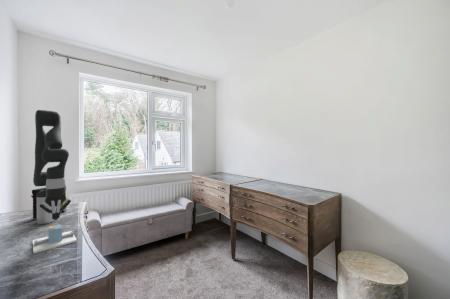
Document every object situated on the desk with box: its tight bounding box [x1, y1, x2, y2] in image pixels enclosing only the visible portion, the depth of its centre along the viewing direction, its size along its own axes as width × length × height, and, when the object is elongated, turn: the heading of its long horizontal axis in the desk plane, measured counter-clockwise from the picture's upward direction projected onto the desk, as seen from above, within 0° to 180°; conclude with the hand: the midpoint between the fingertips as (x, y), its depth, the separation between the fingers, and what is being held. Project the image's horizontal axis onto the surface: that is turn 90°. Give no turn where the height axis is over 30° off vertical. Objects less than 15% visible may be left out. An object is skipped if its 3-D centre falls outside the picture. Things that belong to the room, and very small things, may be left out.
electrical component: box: [30, 185, 67, 219], centre depth 141 cm, size 18×10×20 cm, turn 168°
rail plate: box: [32, 230, 78, 254], centre depth 100 cm, size 16×16×2 cm
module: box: [47, 224, 63, 244], centre depth 100 cm, size 7×5×7 cm
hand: (55, 219), depth 101 cm, fingers closed
